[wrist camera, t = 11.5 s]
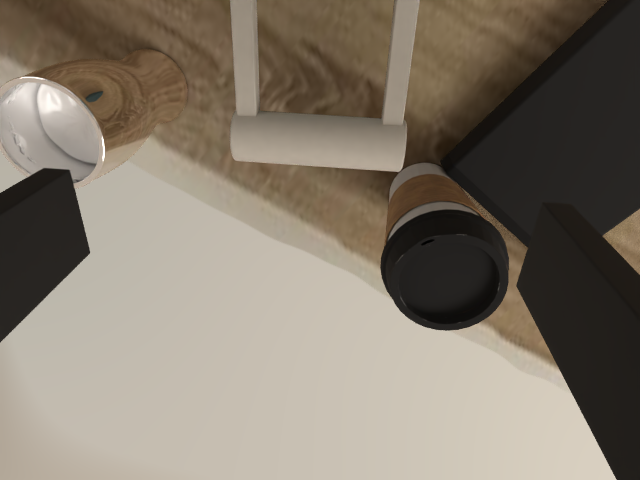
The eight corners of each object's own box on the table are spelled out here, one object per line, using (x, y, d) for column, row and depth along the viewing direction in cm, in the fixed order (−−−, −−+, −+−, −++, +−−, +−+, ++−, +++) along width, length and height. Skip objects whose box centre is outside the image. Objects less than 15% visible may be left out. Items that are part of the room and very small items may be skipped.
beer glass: (115, 31, 37) (-21, 55, 24) (198, 57, 37) (110, 94, 24) (111, 114, 40) (-10, 174, 27) (187, 137, 41) (105, 207, 28)
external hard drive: (440, 160, 40) (445, 172, 37) (701, -90, 30) (733, -97, 28) (542, 254, 44) (554, 271, 41) (805, 59, 34) (842, 65, 31)
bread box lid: (-1, -139, 11) (79, 173, 15) (668, -115, 10) (556, 207, 14) (209, -80, 26) (220, 69, 30) (487, -68, 25) (458, 83, 29)
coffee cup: (449, 131, 39) (494, 205, 26) (482, 212, 42) (536, 314, 29) (360, 173, 41) (359, 260, 28) (397, 246, 44) (412, 354, 31)
